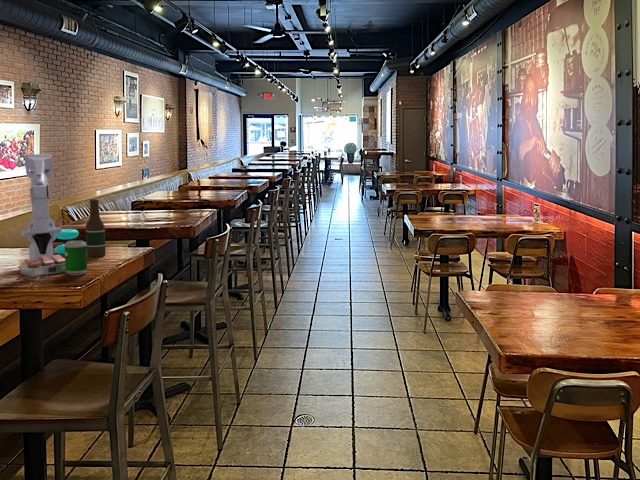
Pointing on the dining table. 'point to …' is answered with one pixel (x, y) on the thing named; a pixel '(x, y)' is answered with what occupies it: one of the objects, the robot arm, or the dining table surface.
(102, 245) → the beer bottle
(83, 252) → the soda can
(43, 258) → the rocker
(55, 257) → the rocker
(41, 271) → the console
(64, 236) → the donuts
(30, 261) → the rocker
